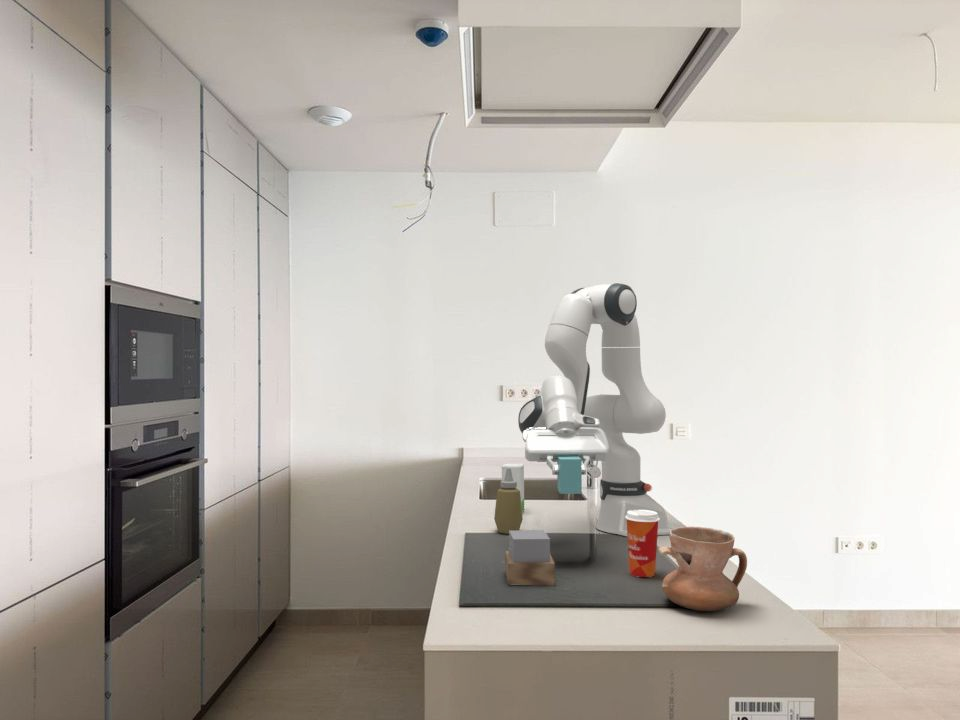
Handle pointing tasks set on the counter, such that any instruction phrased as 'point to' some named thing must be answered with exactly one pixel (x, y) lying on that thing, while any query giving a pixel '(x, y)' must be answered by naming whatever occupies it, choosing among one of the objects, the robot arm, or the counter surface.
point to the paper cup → (642, 541)
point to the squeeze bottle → (508, 505)
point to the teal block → (569, 475)
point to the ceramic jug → (702, 569)
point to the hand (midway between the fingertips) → (569, 473)
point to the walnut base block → (530, 572)
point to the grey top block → (529, 546)
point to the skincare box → (516, 478)
